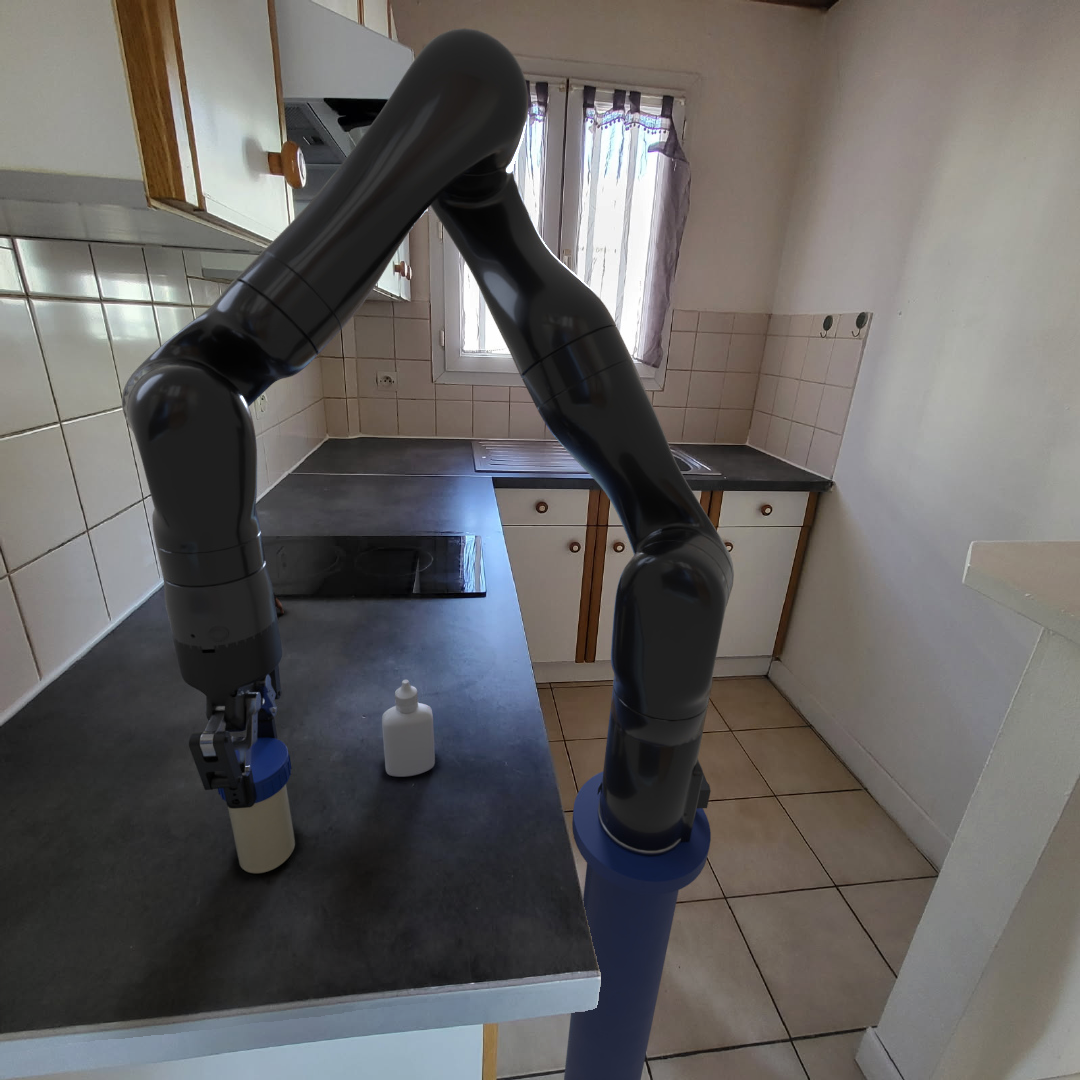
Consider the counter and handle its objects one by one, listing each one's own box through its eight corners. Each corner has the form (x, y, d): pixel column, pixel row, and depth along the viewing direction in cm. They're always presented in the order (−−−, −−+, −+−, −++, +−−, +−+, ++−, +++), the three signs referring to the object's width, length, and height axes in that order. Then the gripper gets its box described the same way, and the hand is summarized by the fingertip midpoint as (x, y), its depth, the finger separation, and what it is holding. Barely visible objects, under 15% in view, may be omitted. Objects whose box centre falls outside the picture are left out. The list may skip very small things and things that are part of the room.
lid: (207, 779, 51) (203, 760, 51) (273, 746, 56) (270, 727, 55) (234, 818, 48) (230, 797, 47) (303, 779, 52) (300, 760, 51)
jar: (300, 826, 57) (288, 744, 54) (288, 870, 53) (273, 783, 49) (248, 831, 56) (232, 748, 53) (231, 876, 52) (212, 789, 48)
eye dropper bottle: (397, 748, 68) (391, 665, 63) (440, 757, 67) (437, 674, 62) (379, 774, 64) (371, 688, 60) (424, 785, 63) (420, 698, 58)
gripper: (211, 579, 51) (239, 725, 58) (127, 672, 38) (175, 848, 44) (297, 578, 52) (315, 721, 59) (243, 667, 39) (274, 840, 46)
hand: (254, 775), depth 52 cm, fingers closed on lid, 6 cm apart
